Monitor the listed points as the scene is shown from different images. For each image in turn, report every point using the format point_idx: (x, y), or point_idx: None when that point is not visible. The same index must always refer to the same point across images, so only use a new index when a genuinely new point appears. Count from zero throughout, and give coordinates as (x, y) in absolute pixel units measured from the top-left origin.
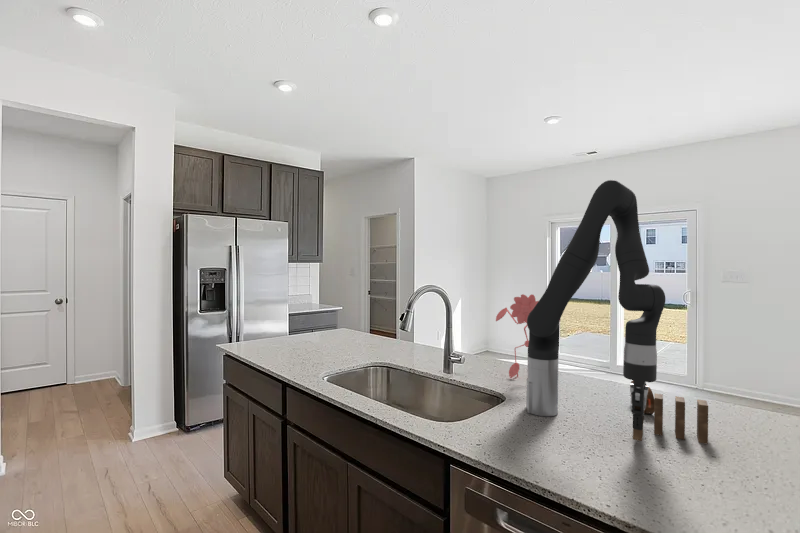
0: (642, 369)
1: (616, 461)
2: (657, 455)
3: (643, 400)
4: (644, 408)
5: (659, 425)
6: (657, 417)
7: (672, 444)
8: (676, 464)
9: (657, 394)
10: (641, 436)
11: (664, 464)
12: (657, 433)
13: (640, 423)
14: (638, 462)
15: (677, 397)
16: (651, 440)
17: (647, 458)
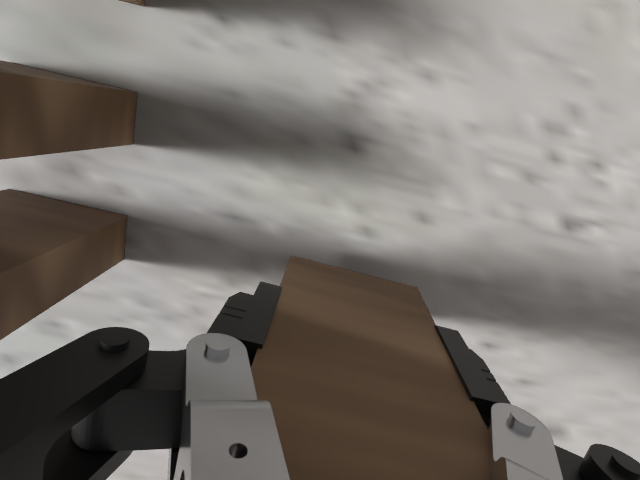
0: None
1: (622, 420)
2: (498, 209)
3: (309, 469)
4: (243, 345)
5: (97, 110)
6: (51, 126)
7: (281, 66)
8: (612, 132)
9: None
10: (423, 303)
11: (623, 202)
12: (129, 123)
13: (492, 379)
14: (617, 328)
15: None
16: (260, 187)
17: (555, 273)
